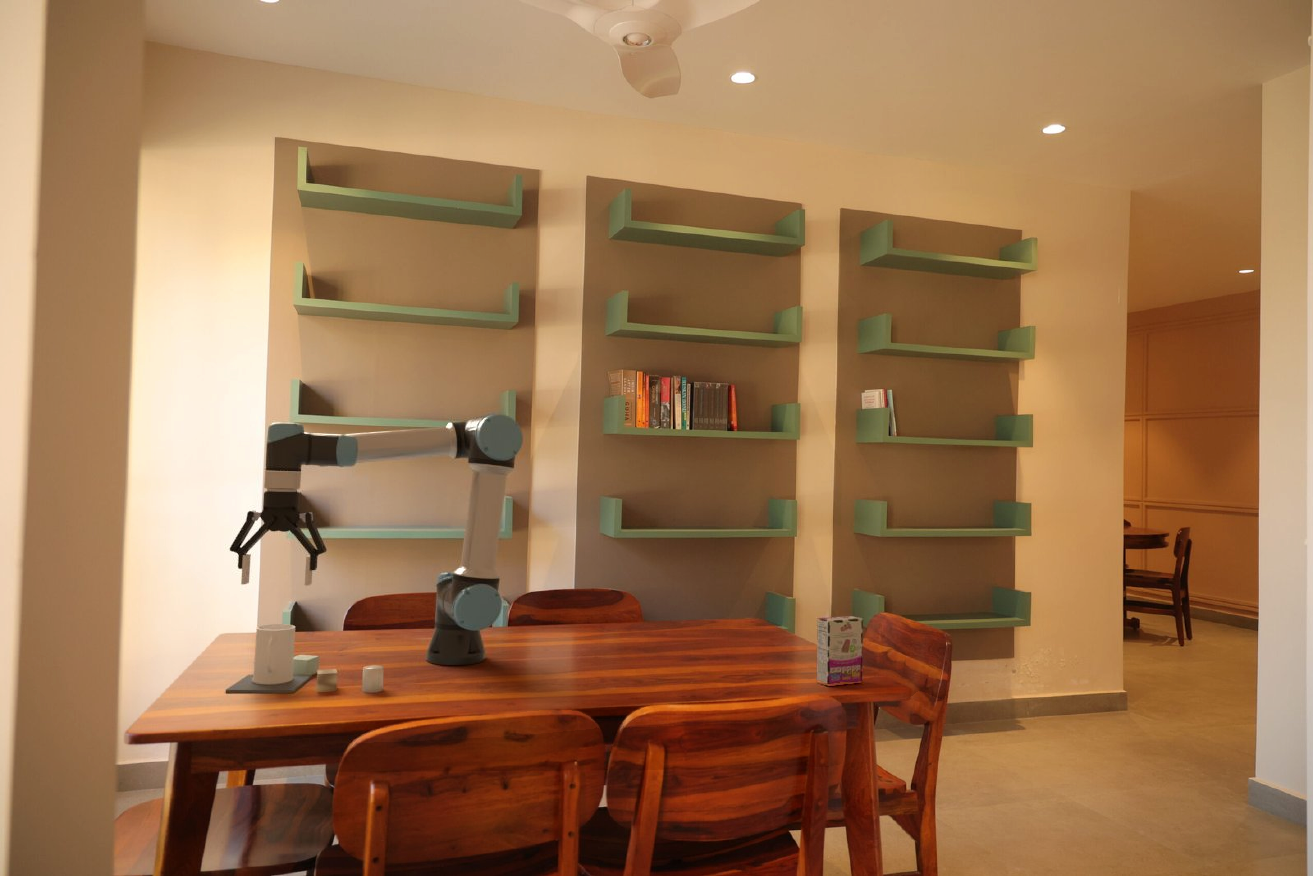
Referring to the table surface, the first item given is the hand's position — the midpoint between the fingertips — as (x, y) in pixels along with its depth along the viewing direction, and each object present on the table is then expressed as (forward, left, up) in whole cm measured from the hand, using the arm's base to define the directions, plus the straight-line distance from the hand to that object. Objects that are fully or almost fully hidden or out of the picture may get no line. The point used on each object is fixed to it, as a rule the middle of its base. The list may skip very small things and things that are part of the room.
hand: (276, 584), depth 188 cm
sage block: (-4, -11, -23) cm, 26 cm away
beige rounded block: (-23, +4, -23) cm, 32 cm away
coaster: (0, 0, -23) cm, 23 cm away
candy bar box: (-135, -5, -23) cm, 137 cm away
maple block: (-13, +4, -23) cm, 26 cm away
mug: (0, 0, -22) cm, 22 cm away
